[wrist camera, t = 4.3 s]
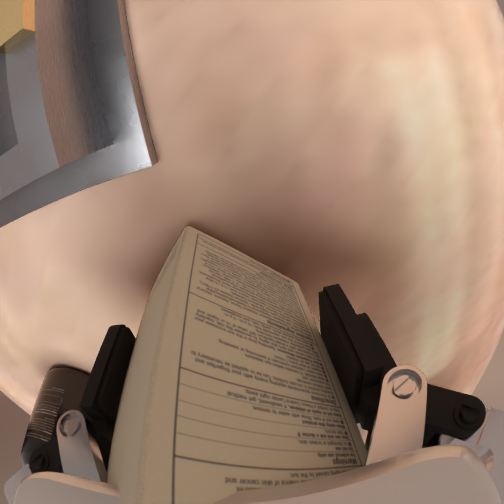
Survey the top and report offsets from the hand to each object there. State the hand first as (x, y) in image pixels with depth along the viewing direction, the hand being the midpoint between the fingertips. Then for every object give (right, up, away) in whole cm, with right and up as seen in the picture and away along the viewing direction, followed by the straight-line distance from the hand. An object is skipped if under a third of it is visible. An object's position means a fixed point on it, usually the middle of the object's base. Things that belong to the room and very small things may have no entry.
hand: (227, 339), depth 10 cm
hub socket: (-10, +11, -3) cm, 16 cm away
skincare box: (0, +2, +3) cm, 4 cm away
